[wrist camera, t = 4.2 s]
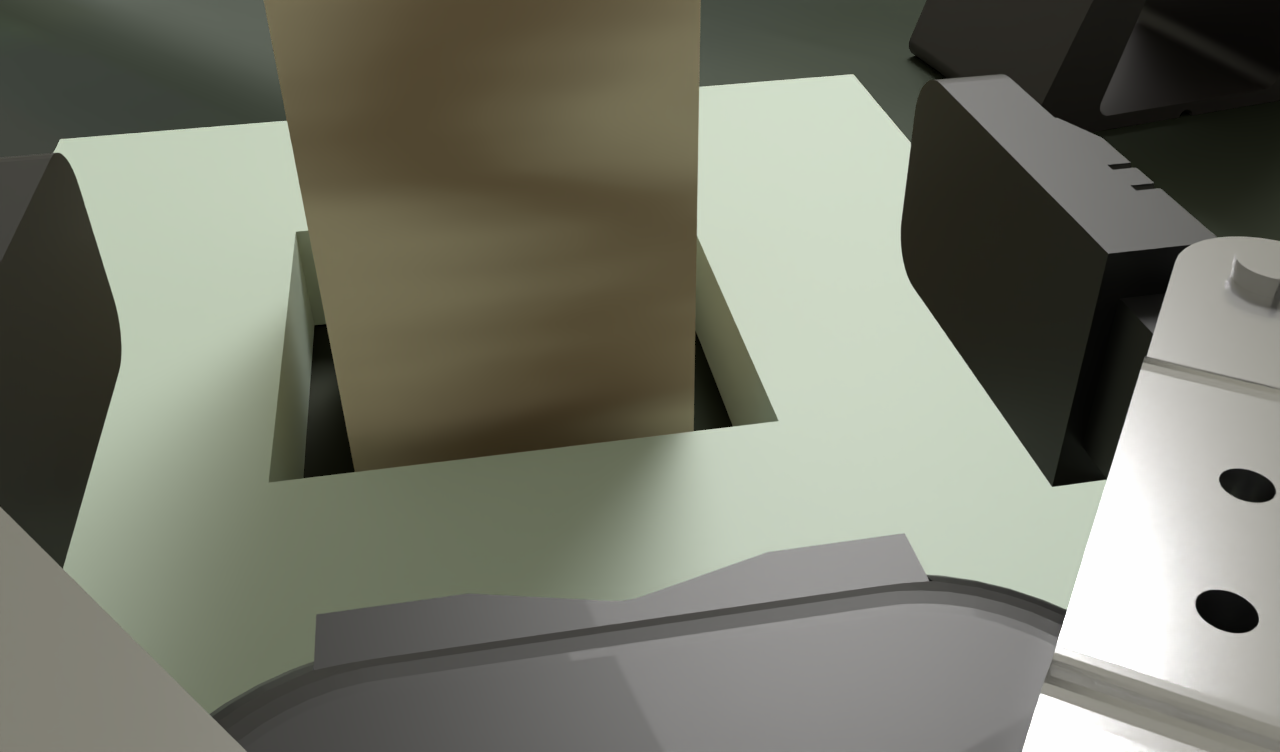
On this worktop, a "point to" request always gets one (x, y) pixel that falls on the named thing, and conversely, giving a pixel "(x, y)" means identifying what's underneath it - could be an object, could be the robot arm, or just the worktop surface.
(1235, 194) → the worktop surface
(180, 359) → the pocket frame
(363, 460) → the birch block
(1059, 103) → the phone stand
